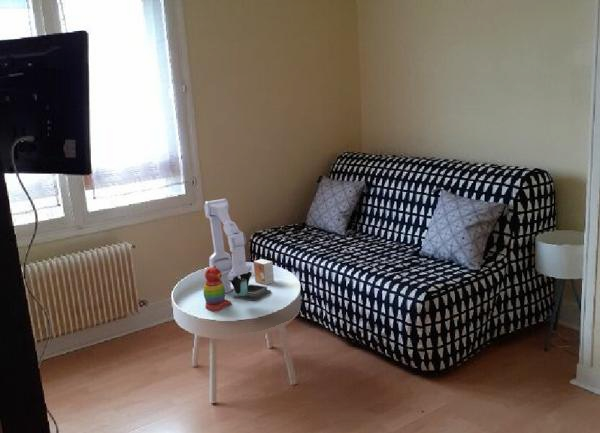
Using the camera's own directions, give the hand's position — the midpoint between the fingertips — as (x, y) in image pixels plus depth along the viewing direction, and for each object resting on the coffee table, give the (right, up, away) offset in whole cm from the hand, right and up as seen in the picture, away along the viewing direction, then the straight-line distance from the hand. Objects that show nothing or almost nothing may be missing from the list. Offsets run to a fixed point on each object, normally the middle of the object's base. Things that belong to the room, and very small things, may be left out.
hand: (241, 290), depth 262 cm
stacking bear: (-12, -7, +4) cm, 14 cm away
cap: (0, -1, 0) cm, 2 cm away
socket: (+4, -4, +14) cm, 15 cm away
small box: (+8, 0, +31) cm, 32 cm away
